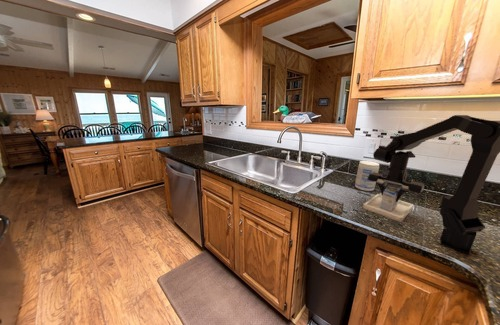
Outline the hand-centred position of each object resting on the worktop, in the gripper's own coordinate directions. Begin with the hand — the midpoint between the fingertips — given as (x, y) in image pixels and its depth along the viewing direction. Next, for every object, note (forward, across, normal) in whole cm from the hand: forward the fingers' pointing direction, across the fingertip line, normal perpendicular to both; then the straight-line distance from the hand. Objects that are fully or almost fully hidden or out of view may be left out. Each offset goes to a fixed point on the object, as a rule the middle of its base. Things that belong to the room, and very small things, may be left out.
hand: (390, 200), depth 84 cm
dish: (+4, 0, 0) cm, 4 cm away
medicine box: (+4, 0, 0) cm, 4 cm away
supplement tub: (+4, +16, -17) cm, 24 cm away
